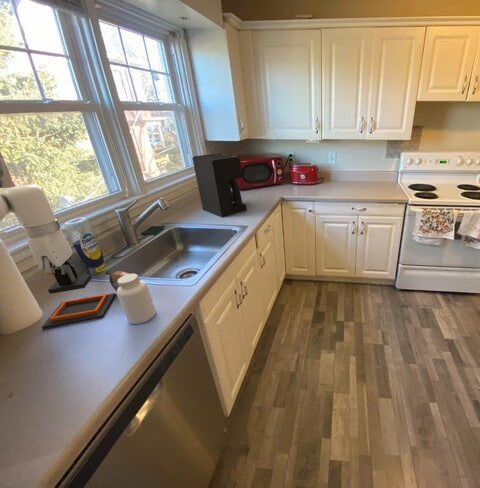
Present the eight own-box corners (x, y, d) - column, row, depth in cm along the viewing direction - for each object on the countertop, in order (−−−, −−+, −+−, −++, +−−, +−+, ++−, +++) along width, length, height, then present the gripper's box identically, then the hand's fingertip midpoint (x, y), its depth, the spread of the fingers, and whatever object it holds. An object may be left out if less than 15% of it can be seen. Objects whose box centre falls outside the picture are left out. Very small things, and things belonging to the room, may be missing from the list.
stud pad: (49, 293, 86) (39, 274, 83) (59, 283, 91) (49, 265, 88) (84, 288, 89) (75, 269, 85) (91, 278, 94) (83, 260, 91)
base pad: (42, 329, 86) (39, 323, 85) (63, 304, 97) (60, 299, 96) (103, 317, 91) (100, 312, 90) (116, 295, 102) (114, 290, 101)
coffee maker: (251, 211, 185) (244, 156, 170) (225, 219, 172) (215, 160, 157) (228, 203, 202) (219, 152, 187) (202, 209, 189) (191, 156, 174)
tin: (112, 291, 104) (104, 271, 101) (121, 286, 107) (113, 267, 103) (140, 300, 99) (133, 280, 95) (148, 295, 102) (141, 275, 98)
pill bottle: (123, 326, 87) (106, 286, 80) (133, 310, 94) (119, 272, 87) (151, 323, 88) (137, 283, 82) (159, 307, 95) (146, 269, 89)
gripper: (42, 220, 87) (67, 270, 95) (7, 241, 73) (40, 298, 81) (71, 217, 89) (93, 266, 97) (43, 237, 75) (71, 293, 83)
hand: (69, 280), depth 89 cm, fingers closed on stud pad, 3 cm apart
